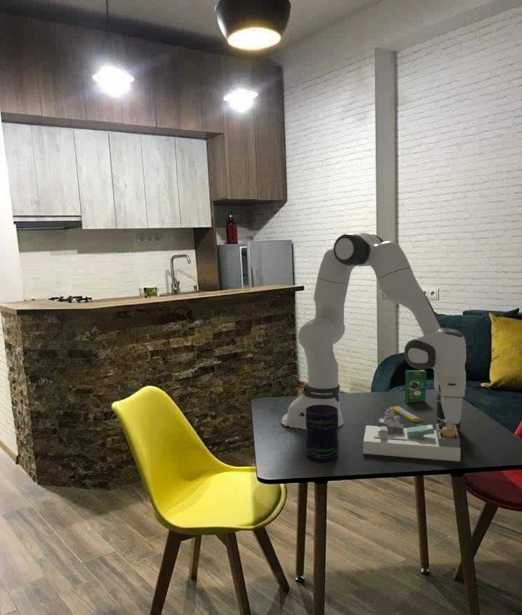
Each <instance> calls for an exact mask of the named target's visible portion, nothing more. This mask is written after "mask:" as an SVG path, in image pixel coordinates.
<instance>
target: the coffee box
mask: <svg viewBox="0 0 522 615" xmlns="http://www.w3.org/2000/svg"><path fill="white" fill-rule="evenodd" d="M404 380H405V382H404V383H405V384H404V385H405V386H404V387H405V388H404V402H405V403H406V404H409V403H411V404H412V403H424V402H425V403H426V390H427V370H426V369H414V370H413V369H412V370H411V369H410V370H405V379H404Z"/></svg>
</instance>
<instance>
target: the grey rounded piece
mask: <svg viewBox="0 0 522 615" xmlns="http://www.w3.org/2000/svg"><path fill="white" fill-rule="evenodd" d="M390 407H391V406H390V405H389V406H388V408H387V409H386V411H385V412H384V417H383V418H382V419H385V420H393V422H396V423H400V424H401V422H400V420H401V417H400V415H396V412H395V411H393V410H392V409H391V408H390Z"/></svg>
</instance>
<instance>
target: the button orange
mask: <svg viewBox="0 0 522 615" xmlns="http://www.w3.org/2000/svg"><path fill="white" fill-rule="evenodd" d="M442 437H443V438H453V439H454V438H455V428H453V429H452V430H449V429H447V427H443V428H442Z"/></svg>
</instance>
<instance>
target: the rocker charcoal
mask: <svg viewBox="0 0 522 615" xmlns="http://www.w3.org/2000/svg"><path fill="white" fill-rule="evenodd" d="M388 425H390V426H393V431H396V432H400V433H403V430H404V428H405V425H404V424H403V423H401V422H400V423H396V422H392V421H389V420H385V419H383V418H380V417H378V420H377V426H378V427H381V426H385V427H387V429H388Z"/></svg>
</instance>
